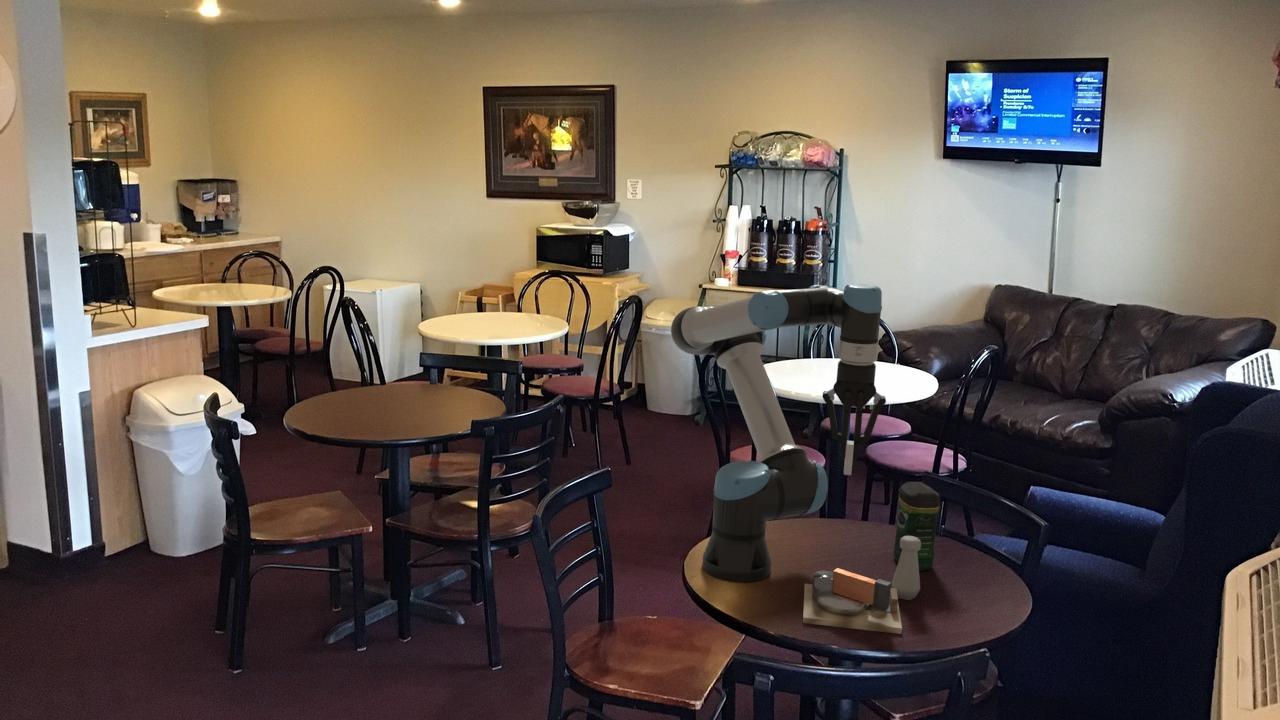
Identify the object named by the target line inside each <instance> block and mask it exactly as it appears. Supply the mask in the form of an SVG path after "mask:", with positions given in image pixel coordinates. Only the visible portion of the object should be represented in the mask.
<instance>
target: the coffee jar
mask: <svg viewBox="0 0 1280 720" xmlns="http://www.w3.org/2000/svg"><path fill="white" fill-rule="evenodd" d="M940 498H941V496H940V494H939V493H938V492H937V491H935V490H934V488H932V487H930V485H927V484H925V483H924V482H922V481H905V483H903V484H902V485H901V486H900V488H899V495H898V513H897V515H898V516H897V522H896V530H895V531H896V532H895V538H894V546H893V554H892V555H893V558H894V560H895V561H896V562H897V563H898V562H899V559H900V555H901V552H902V549H901V548H900V540H901V538H902V537H904V536H914V537H917V538H918V539H919V540H920V541H921V548H920V550H919V551H917V554H918V566H919V572H920V571H926V570H931V569H932V568H933V566H934V560H935V559H934V558H935V548H936V546H935V545H936V534H937V524H938V523H937V521H938V514H939V510H940V504H941V503H940V501H941V499H940Z"/></svg>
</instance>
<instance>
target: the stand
mask: <svg viewBox="0 0 1280 720" xmlns="http://www.w3.org/2000/svg"><path fill="white" fill-rule="evenodd" d="M812 587H813V583H804V589H803V590H804V592H803V612H802V613H803V614H802V624H809V625H816V626H817V625H819V626H827V627H828V626H829V627H836V628H845V629H855V630H862V631H863V630H864V631H870V632H871V631H872V632H882V633H888V634H889V633H892V634H898V635H901V634H902V632H903V630H902V629H903V626H902V620H901V613H900V607H899V606H900V605H899V597H898V596H897V590H896V588H893V587H891V590H890V600H889V608H888V609H887V610H886V611H883V610H880V609H877V608H874V607H873V605H871V604H868V603H867V608H866V610H865V611H864V612H862V613H859V614H854V615H842V614H836V613H832V612H829V611H826V610H824V609H823V608H821V607H820V606H819V605H818V604H817V601H815V600H813V599H812Z"/></svg>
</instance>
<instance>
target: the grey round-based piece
mask: <svg viewBox="0 0 1280 720" xmlns="http://www.w3.org/2000/svg"><path fill="white" fill-rule="evenodd" d="M812 584H813V587H812V599H813V600H815V601H817V604H818V605H819V606H820V607H821V608H823V609H824V610H826V611H829V612H832V613H836V614H842V615H854V614H859V613H862V612H864V611H865V610H866V608H867V603H868V604H871V605H873V607H874V608H877V609H880V610H883V611H886V610H887V609H888V608H889V600H890V590H891V588H892V581H887V580H885V579H881V578H878V579H873V578H869V577H867V576H863V575H860V574H857V573H854V572H850V571H849V570H845V569H841V568H838V567H837V568H835V569H834V570H832V571H828V570H817V571H814V572H813V575H812Z"/></svg>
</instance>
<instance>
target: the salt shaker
mask: <svg viewBox="0 0 1280 720" xmlns="http://www.w3.org/2000/svg"><path fill="white" fill-rule="evenodd" d="M900 548H901V549H902V552H901V555H900V559H899V562H897V563H898V564H897V565H896V568H895V573H894V575H893V579H892V581H891V588H896V590H897V596H898V599H900V600H908V601H911V600H914V599H916V597H917V595H918V594H919V592H920V590H921V580H920V571H919V566H918V554H917V551H919V550H920V548H921V541H920V540H919V539H918V538H917V537H914V536H904V537H902V538H901V540H900Z"/></svg>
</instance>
